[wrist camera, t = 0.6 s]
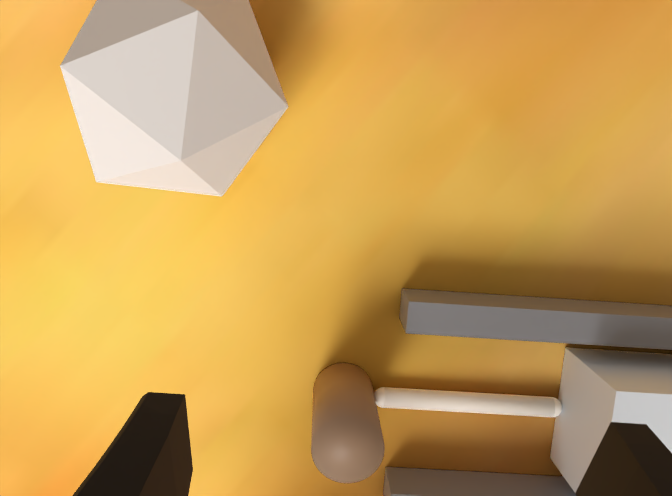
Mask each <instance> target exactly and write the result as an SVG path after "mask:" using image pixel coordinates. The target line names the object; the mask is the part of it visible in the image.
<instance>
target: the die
mask: <svg viewBox="0 0 672 496" xmlns="http://www.w3.org/2000/svg"><path fill="white" fill-rule="evenodd" d="M60 67H61V70H62V73H63V77H64V80H65V83H66V86H67V89H68V93H69V96H70V99H71V102H72V105H73V109H74V112H75V115H76V118H77V121H78V125H79V128H80V131H81V134H82V137H83V141H84V144H85V147H86V150H87V154H88V157H89V160H90V163H91V166H92V170H93V173H94V176H95V179H96V182H100V183H109V184H117V185H126V186H135V187H144V188H153V189H162V190H170V191H179V192H188V193H197V194H206V195H215V196H223V195H224V193H225V192H226V191H227V189H228V188H229V187H230V185H231V184H232V183H233V181H234V180H235V179H236V177H237V176H238V174H239V173H240V172H241V170H242V169H243V168H244V166H245V165H246V164H247V162H248V161H249V160H250V158H251V157H252V155H253V154H254V153H255V151H256V150H257V149H258V147H259V146H260V145H261V143H262V142H263V141H264V139H265V138H266V136H267V135H268V134H269V132H270V131H271V130H272V128H273V127H274V126H275V124H276V123H277V122H278V120H279V119H280V117H281V116H282V115H283V113H284V112H285V111H286V109H287V108H288V104H287V101H286V99H285V96H284V93H283V91H282V88H281V85H280V83H279V80H278V77H277V75H276V72H275V69H274V67H273V64H272V61H271V59H270V56H269V53H268V51H267V48H266V45H265V43H264V40H263V37H262V35H261V32H260V29H259V26H258V24H257V21H256V18H255V16H254V13H253V10H252V8H251V5H250V2H249V0H97V1H96V3H95V5H94V6H93V8H92V10H91V12H90V14H89V15H88V17H87V19H86V21H85V23H84V24H83V26H82V28H81V30H80V31H79V33H78V35H77V37H76V39H75V40H74V42H73V44H72V46H71V47H70V49H69V51H68V53H67V55H66V56H65V58H64V60H63V62H62V63H61V65H60Z"/></svg>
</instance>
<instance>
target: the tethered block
mask: <svg viewBox="0 0 672 496" xmlns="http://www.w3.org/2000/svg"><path fill="white" fill-rule="evenodd" d="M376 405H377V406H379V407H382V408H397V409H414V410H432V411H449V412H467V413H484V414H502V415H519V416H537V417H556V418H555V425H554V432H553V439H552V446H551V454H550V459H551V460H552V461H553V463H554V464H555V466H556V467H557V468H558V470H559V471H560V473H561V474H562V475H563V477H564V478H565V480H566V481H567V482H568V484H569V485H570V487H571V488H572V489H573V491H574V492H575V493H576V491H577V489H578V487H579V485H580V483H581V481H582V479H583V477H584V475H585V473H586V471H587V469H588V467H589V465H590V463H591V461H592V459H593V457H594V455H595V453H596V451H597V449H598V447H599V445H600V443H601V441H602V439H603V437H604V435H605V433H606V431H607V429H608V427H609V425H610V423H611V422H620V423H635V424H647V426H648V427H649V428H650V429H651V430H652V431H653V432H654V433H655V435H656V436H657V437H658V438H659V439H660V440H661V441H662V443H663V444H664V445H665V446H666V447H667V448H668V449H669V451H670V452H671V453H672V354H665V353H648V352H632V351H616V350H599V349H583V348H567V347H565V354H564V361H563V368H562V375H561V382H560V390H559V397H558V399H556V398H554V397H545V396H528V395H511V394H493V393H476V392H459V391H442V390H425V389H408V388H391V387H381V388H378V389H377V390H376V391H375V393H374V392H373V387H372V383H371V380H370V378H369V376H368V375H367V373H366V372H365V371H364V370H363V369H361V368H360V367H358V366H356V365H354V364H350V363H337V364H333V365H331V366H329V367H327V368H325V369H324V370H323V371H322V372H321V373H320V374H319V375H318V377H317V378H316V381H315V383H314V388H313V416H312V447H311V452H312V458H313V461H314V463H315V465H316V467H317V468H318V470H319V471H320V472H321V473H322V474H323V475H324V476H326V477H327V478H329V479H331V480H333V481H336V482H340V483H355V482H359V481H362V480H364V479H366V478H368V477H369V476H371V475H372V474H373V473H374V472H375V471H376V470H377V469H378V467H379V466H380V464H381V462H382V460H383V457H384V441H383V436H382V431H381V426H380V421H379V416H378V411H377V406H376Z"/></svg>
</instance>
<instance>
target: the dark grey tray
mask: <svg viewBox="0 0 672 496" xmlns="http://www.w3.org/2000/svg"><path fill="white" fill-rule="evenodd" d="M399 318H400V321H401V323H402V325H403V328H404V330H405V332H406V333H408V334H424V335H440V336H456V337H473V338H489V339H505V340H521V341H537V342H554V343H570V344H586V345H602V346H618V347H635V348H651V349H667V350H672V306H668V305H653V304H637V303H622V302H606V301H591V300H575V299H559V298H544V297H528V296H513V295H497V294H482V293H466V292H450V291H435V290H419V289H404V288H402V293H401V304H400V315H399ZM383 495H384V496H576V494H575V492H574V491H573V489H572V488H571V487H570V485H569V484H568V482H567V481H566V480H565V478H564V477H563V476H546V475H528V474H510V473H491V472H473V471H455V470H436V469H418V468H399V467H386V468H385V478H384V489H383Z"/></svg>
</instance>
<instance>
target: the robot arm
mask: <svg viewBox="0 0 672 496" xmlns="http://www.w3.org/2000/svg"><path fill="white" fill-rule="evenodd" d="M192 471H193V467H192V457H191V447H190V438H189V428H188V419H187V409H186V399H185V395H184V394H168V393H152V392H148V393H147V394H145V395H144V396H142V398H141V400H140V401H139V403H138V404H137V406H136V408H135V409H134V411H133V412H132V414H131V415H130V417H129V418H128V420H127V421H126V423H125V424H124V426H123V427H122V429H121V430H120V432H119V433H118V435H117V436H116V438H115V439H114V440H113V442H112V443H111V445H110V446H109V447H108V449H107V450H106V452H105V453H104V454H103V456H102V457H101V459H100V460H99V461H98V463H97V464H96V466H95V467H94V468H93V470H92V471H91V472H90V473H89V475H88V476H87V477H86V479H85V480H84V481H83V483H82V484H81V485H80V487H79V488H78V489H77V490H76V492H75V493H74V494H73V496H188V493H189V488H190V482H191V477H192ZM575 494H576V496H672V453H671V452H670V451H669V449H668V448H667V447H666V446H665V445H664V444H663V443H662V441H661V440H660V439H659V438H658V437H657V436H656V435H655V433H654V432H653V431H652V430H651V429H650V428H649V427H648V426H647V424H635V423H620V422H611V423H610V425H609V427H608V429H607V431H606V433H605V435H604V437H603V439H602V441H601V443H600V445H599V447H598V449H597V451H596V453H595V455H594V457H593V459H592V461H591V463H590V465H589V467H588V469H587V471H586V473H585V475H584V477H583V479H582V481H581V483H580V485H579V487H578V489H577V491H576V493H575Z"/></svg>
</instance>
